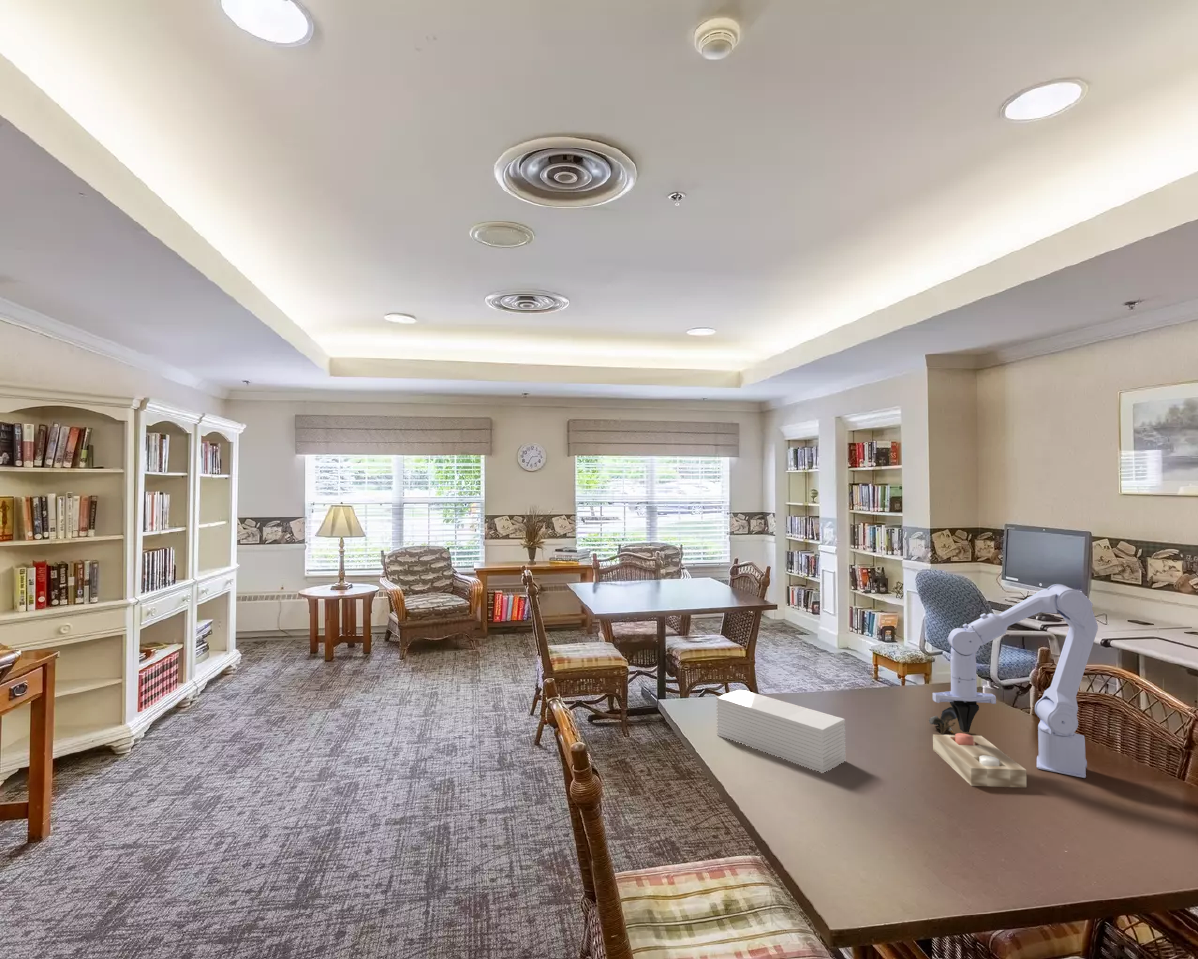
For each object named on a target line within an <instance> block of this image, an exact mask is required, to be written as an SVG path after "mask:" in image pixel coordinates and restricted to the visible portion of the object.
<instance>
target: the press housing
mask: <svg viewBox="0 0 1198 959" xmlns="http://www.w3.org/2000/svg"><path fill="white" fill-rule="evenodd" d="M970 735H971V734H970ZM971 736H973V738H974V745H958V744H957V743H956V742H955V734H942V735H940V734H932V751H933V752H935V753H936V754H937V755H938V756H939V757H940V758H941V759H942V760H943V761H944V762H945V763H947V764H948V766H950V768H952V769H953V770H954V771H955V772H956V773H957V774H958V775H959V776H960V777H961V778H962V779H963V780H965V781H966V783H968V784H969V785H970V787H972V786H973V787H996V788H997V787H998V788H999V787H1000V788H1003V787H1004V788H1026V789H1027V769H1026V768H1025V767H1023V766H1022V765H1021V764H1019V763H1018V762H1016V761H1015V760H1014V759H1013V758H1011V756H1009V755H1007V754H1006V753H1004V752H1003V751H1002V750H1001V749H999V748H998V747H996V746H995V744H993V743H991V742H990V741H989V740H988V739H986V738H985V737H983V736H982V735H971ZM982 755H986V756H992V757H995V758H997V759H999V766H983V765H982V764H981V763H980V762H979V757H980V756H982Z"/></svg>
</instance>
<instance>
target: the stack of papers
mask: <svg viewBox="0 0 1198 959" xmlns="http://www.w3.org/2000/svg"><path fill="white" fill-rule="evenodd" d="M716 732H717V733H716V735H717V736H718V735H719V737H722V738H724V739H726V738H727V739H726V740H729V739H730V741H732V740H734V741H733V742H735V741H737V742H740V743H743V744H745V745H747V746H746V747H748V746H750V747H749V748H751V747H753V748H752V749H754V748H755V749H754V750H756V749H758V750H757V751H759V750H760V752H762V751H763V752H762V753H765V752H766V753H765V754H767V753H768V755H770V754H771V755H770V756H773V755H776V756H778V757H781V758H784V759H786V760H788V761H787V762H789V761H791V762H790V763H792V762H793V763H792V764H795V763H796V764H795V765H797V764H799V765H798V766H800V765H801V767H803V766H804V768H806V767H807V768H806V769H808V768H809V770H811V769H812V770H811V771H814V770H817V771H819V772H822V773H824V772H826V771H827V772H829V771H831V770H832V768H833V769H834V768H836V767H838V766H839V764H840V765H842V764H843V763H845V762H846V719H845V718H843V717H840V716H835V715H832V714H829V713H825V712H822V711H819V710H815V709H811V708H807V707H804V706H800V705H796V704H794V703H791V702H787V701H783V700H779V699H776V698H773V697H769V696H765V695H762V694H758V693H755V692H751V691H748V690H744V689H741V688H740V689H737V690H734V691H731V692H728V693H725V694H722V695H718V696H717V697H716ZM737 742H736V743H737ZM740 743H739V744H740ZM743 744H742V745H743ZM745 745H744V746H745ZM776 756H775V757H776ZM778 757H777V758H778ZM781 758H780V759H781ZM784 759H783V760H784ZM786 760H785V761H786ZM844 761H845V762H844ZM841 763H842V764H841ZM828 770H829V771H828ZM817 771H816V772H817ZM819 772H818V773H819ZM827 772H826V773H827ZM822 773H821V774H822ZM824 774H825V773H824Z"/></svg>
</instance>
